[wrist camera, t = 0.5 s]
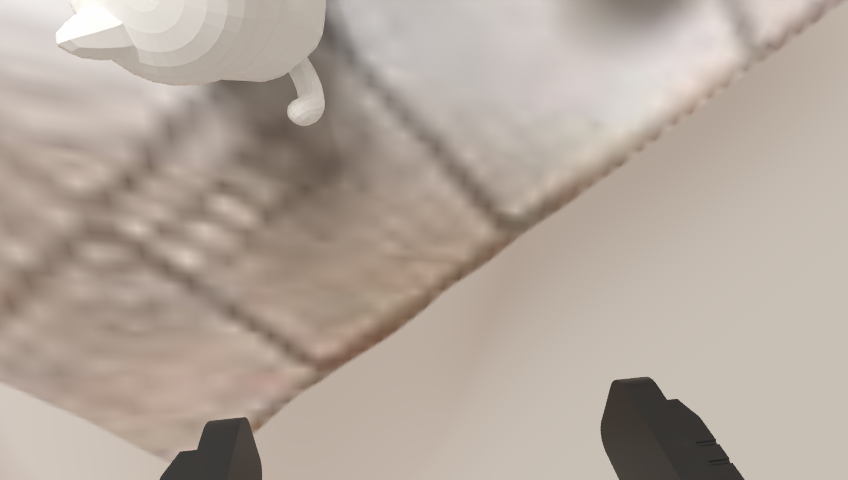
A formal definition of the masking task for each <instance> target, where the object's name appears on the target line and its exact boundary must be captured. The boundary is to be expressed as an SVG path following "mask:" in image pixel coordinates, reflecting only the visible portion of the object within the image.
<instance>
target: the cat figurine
mask: <svg viewBox="0 0 848 480" xmlns="http://www.w3.org/2000/svg"><path fill="white" fill-rule="evenodd" d="M69 2H70V5H71V7H72V9H73V11H74V13H75V15H74V16H73V17H72V18H71V19H70V20H68V21H67V22H66V23H65V24H64V25H63V26H62V27H61V29H60V30H59V31H58V32H57V33H56V40H57V46H58V47H60V48H62V49H63V50H65V51H67V52H69V53H71V54H73V55H76V56H79V57H81V58H87V59H95V60H113V61H114V62H115V63H117V64H118V65H120V66H122V67H123V68H125V69H126V70H128V71H129V72H131V73H132V74H134V75H137V76H139V77H142V78H145V79H147V80H150V81H152V82H157V83H163V84H168V85H201V84H206V83H211V82H216V81H219V80H221V79H222V80H237V81H254V82H266V81H269V80H272V79H276V78H279V77H282V76H284V75H285V74H287V73H289V75H290V76H291V78H292V80H293V82H294V85H295V88H296V90H297V94H298V99H296V100H294V101H292V102H291V103H290V104H289V106H288V109H287V114H288V117H289V118H290V119H291V120H292V121H293V122H294V123H295V124H297V125H300V126H309V125H311V124H313V123H315V122H317V121H318V120H319V118H320V117H321V116H322V114H323V112H324V109H325V100H324V93H323V89H322V85H321V82H320V80H319V77H318V75H317V73H316V71H315V69H314V67H313V66H312V64H311V62H310V61H309V59H308V58H307V57H308V56H309V55H310V54H311V53H312V52H313V51H314V50H315V49H316V48H317V46H318V44H319V42H320V39H321V37H322V35H323V29H324V22H325V12H326V0H69Z"/></svg>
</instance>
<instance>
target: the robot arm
mask: <svg viewBox="0 0 848 480" xmlns="http://www.w3.org/2000/svg"><path fill="white" fill-rule="evenodd" d="M601 437H602V442H603V445H604V448H605V451H606V453H607V455H608V457H609V459H610V461H611V464H612V465H613V468H614V470H615V472H616V473H617V476H618V478H619V480H744V478H743V477H742V476H741V474H740V473H739V471H738V470H737V469H736V467H735V466H734V465H733V463H730V461H729V457H728V456H727V455H726V453H725V452H724V450H723V449H722V448H721V446H720V445H719V444H717V443H716V439H715V438H714V436H713V435H712V434H711V433H710V431H709V429H708V428H707V427H706V425H705V424H704V423H703V421H702V420H701V418H700V417H699V416H698V415H696V414H695V413H694V412H692V411H691V410H690V409H689V408H687V407H686V406H685V405H684V404H683V403H681V402H680V401H679V400H678V399H672V400H667V399H666V398H665V396H664V395H663V393H662V392H661V390H660V389H659V387H658V386H657V384H656V383H655V382H654V381H653V380H652V379H651V378H649V377H640V378H631V379H621V380H614V381H613V382H612V384H611V387H610V391H609V395H608V399H607V402H606V407H605V410H604V414H603V417H602V421H601ZM160 480H262V467H261V461H260V457H259V454H258V450H257V447H256V444H255V441H254V437H253V434H252V431H251V428H250V424H249V422H248V419H247V418H245V417H243V418H233V419H224V420H214V421H209V422H207V424H206V425H205V427H204V430H203V433H202V436H201V439H200V442H199V445H198V449H197V450H192V451H183V452H180V453H179V454H178V455H177V456H176V458H175V459H174V460H173V462H172V463H171V464H170V466H169V467H168V468H167V470H166V471H165V472H164V473H163V475H162V476H161V478H160Z"/></svg>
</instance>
